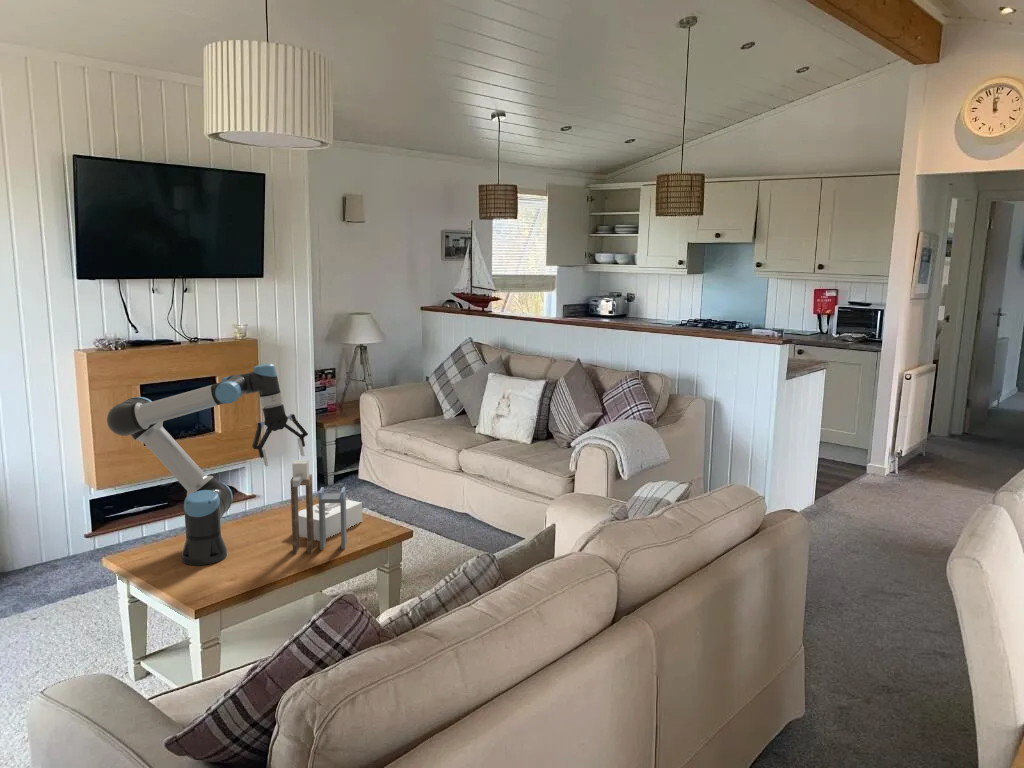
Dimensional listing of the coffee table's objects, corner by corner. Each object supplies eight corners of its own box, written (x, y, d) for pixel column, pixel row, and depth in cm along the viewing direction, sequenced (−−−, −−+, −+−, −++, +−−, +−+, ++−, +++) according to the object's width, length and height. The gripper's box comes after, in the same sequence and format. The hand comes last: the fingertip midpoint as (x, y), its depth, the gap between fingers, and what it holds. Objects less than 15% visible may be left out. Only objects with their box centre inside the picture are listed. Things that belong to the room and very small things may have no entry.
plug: (288, 486, 269) (287, 470, 268) (295, 475, 283) (294, 460, 282) (303, 486, 270) (302, 469, 269) (309, 475, 283) (308, 459, 282)
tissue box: (292, 535, 301) (291, 508, 299) (335, 516, 323) (334, 491, 321) (320, 542, 295) (319, 514, 293) (362, 522, 316) (361, 497, 315)
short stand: (320, 549, 286) (318, 492, 283) (322, 542, 293) (321, 487, 289) (344, 549, 287) (343, 492, 283) (346, 542, 294) (345, 486, 290)
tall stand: (292, 553, 282) (290, 480, 277) (296, 546, 289) (293, 474, 284) (311, 553, 282) (308, 479, 278) (313, 546, 289) (311, 474, 285)
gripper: (239, 415, 275) (252, 471, 278) (308, 398, 286) (320, 453, 290) (236, 412, 281) (249, 467, 285) (303, 396, 293) (314, 450, 296)
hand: (284, 460), depth 287 cm, fingers open, 13 cm apart
